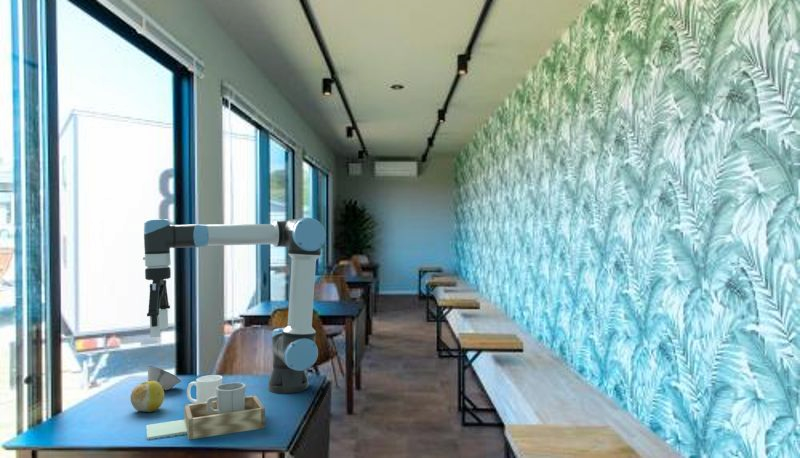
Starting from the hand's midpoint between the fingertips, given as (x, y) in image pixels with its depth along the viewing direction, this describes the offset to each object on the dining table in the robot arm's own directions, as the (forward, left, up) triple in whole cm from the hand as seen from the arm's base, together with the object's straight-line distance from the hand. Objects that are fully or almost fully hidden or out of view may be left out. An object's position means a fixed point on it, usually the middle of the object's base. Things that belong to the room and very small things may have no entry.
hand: (159, 332), depth 177 cm
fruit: (+4, -7, -27) cm, 28 cm away
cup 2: (-18, +19, -27) cm, 38 cm away
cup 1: (-14, -2, -27) cm, 30 cm away
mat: (-1, +16, -27) cm, 31 cm away
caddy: (-17, +19, -27) cm, 37 cm away
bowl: (-2, -31, -27) cm, 41 cm away
